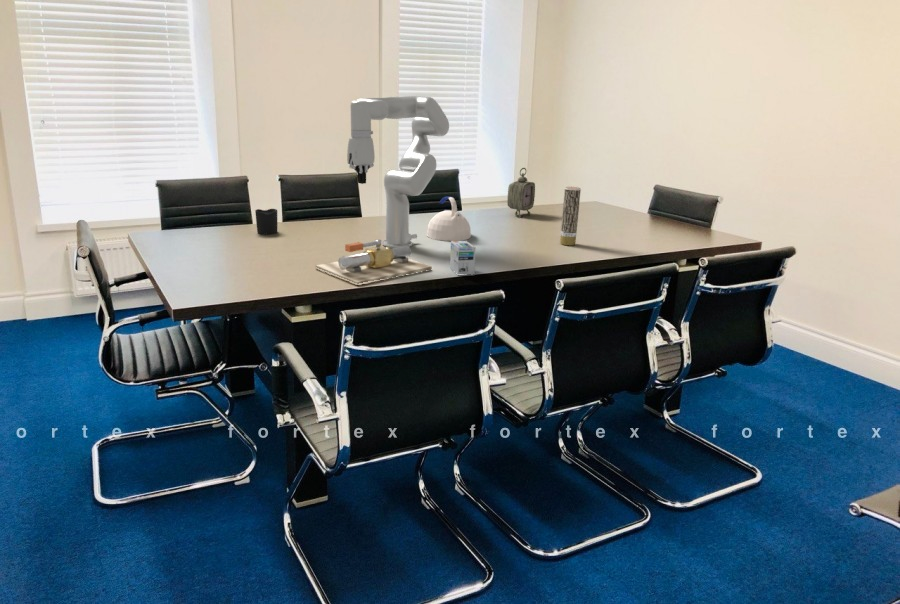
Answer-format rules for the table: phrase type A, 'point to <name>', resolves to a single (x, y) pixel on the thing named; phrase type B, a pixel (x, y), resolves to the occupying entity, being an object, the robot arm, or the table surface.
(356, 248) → the valve handle
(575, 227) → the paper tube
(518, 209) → the tabletop clock
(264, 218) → the pen holder
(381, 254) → the pipe and valve
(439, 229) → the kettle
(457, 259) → the light bulb box
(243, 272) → the table surface
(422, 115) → the robot arm
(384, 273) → the valve board
